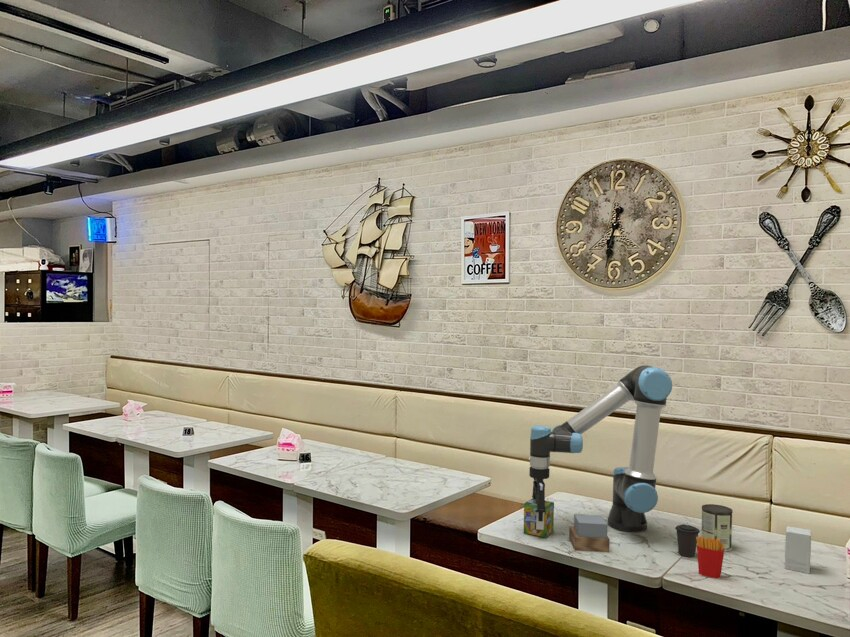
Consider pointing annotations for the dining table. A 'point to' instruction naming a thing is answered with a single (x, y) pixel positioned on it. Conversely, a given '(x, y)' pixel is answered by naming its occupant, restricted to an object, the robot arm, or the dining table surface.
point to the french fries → (710, 556)
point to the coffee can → (717, 524)
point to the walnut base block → (588, 542)
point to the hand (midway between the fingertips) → (537, 523)
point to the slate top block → (590, 526)
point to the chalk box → (531, 518)
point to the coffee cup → (687, 540)
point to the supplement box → (797, 549)
